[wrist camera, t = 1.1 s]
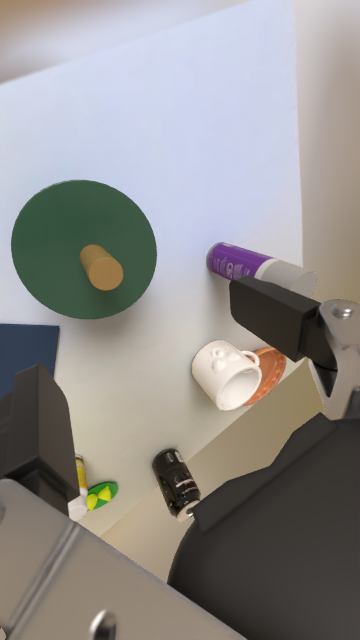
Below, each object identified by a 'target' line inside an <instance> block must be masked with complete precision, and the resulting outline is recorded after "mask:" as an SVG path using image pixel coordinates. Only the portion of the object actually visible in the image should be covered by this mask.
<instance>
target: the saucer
mask: <svg viewBox="0 0 360 640" xmlns="http://www.w3.org/2000/svg"><path fill="white" fill-rule="evenodd" d="M253 353H254V354H256V355H257V356H258V358H259V366H258V367H259V368H260V369H261V372H262V378H261V382H260V385H259V387H258V388H257V390H256V392H255V393H254V394H253V396H252V397H251V398H250V399H249V400H248V401H247V402H245V403H244V404H243V406H246V405H251V404H253V403H256V402H258V401H259V400H260V399H262V398H264V397H265V396H266V395H267V394H268V393H269V392H270V391H271V390H272V389H273V388H274V387H275V386H276V384H277V383H278V382H279V380H280V378H281V377H282V375H283V372H284V370H285V366H286V356H285V355H283V354H282V353H280V352H279V351H278V350H276V349H275V348H273V347H265V348H262V349H258V350H256V351H254V352H253ZM246 357H247V358H249V359H250V360H251V361H252V362H253V363H255V360H254V358H253V357H251V356H249V355H247V356H246Z"/></svg>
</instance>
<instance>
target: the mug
mask: <svg viewBox="0 0 360 640" xmlns="http://www.w3.org/2000/svg"><path fill="white" fill-rule="evenodd" d="M245 355H249V356H251V357H253V358H254V360H255V363H253V362H252V361H251V360H250V359H249V358H247V357H246V356H245ZM258 366H259V358H258V356H257V355H256V354H254V353H253V352H250V351H239V350H238V349H236V348H235V347H234V346H233V345H231V344H230V343H229V342H227V341H224V340H217V341H213V342H210V343H208V344H207V345H205V346H204V347H203V348H202V349H201V350H200V351H199V352H198V353H197V354H196V356H195V358H194V360H193V363H192V375H193V377H194V378H195V380H196V381H197V382H198V384H199V385H200V386H201V387H202V389H203V390H204V391H205V392H206V394H207V395H208V396H209V397H210V398H211V400H212V401H213V402H214V403H215V405H216V406H217V407H218V408H219V409H220V410H223V411H230V410H234V409H236V408H238V407H240V406H241V405H243V404H244V403H245V402H247V401H248V400H249V399H250V398H251V397H252V396H253V394H254V393H255V392H256V390H257V388H258V387H259V385H260V382H261V378H262V372H261V369H260V368H259V367H258Z"/></svg>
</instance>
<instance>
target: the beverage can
mask: <svg viewBox="0 0 360 640" xmlns="http://www.w3.org/2000/svg"><path fill="white" fill-rule="evenodd" d="M152 469H153V471H154V474H155V477H156V479H157V482H158V484H159V486H160V489H161V491H162V494H163V496H164V499H165V501H166V504H167V506H168V509H169V511H170V513H171V515H172V516H174V517H176V518H177V521H178V522H183V521H185V520H188V519H189V518H191V517H192V516H193V514H192V512H191V509H190V508H192V507H193V506H194V505H196V504H197V503H198V502H200V495H201V493H200V491H199V489H198V487H197V485H196V483H195V481H194V480H193V478H192V476H191V474H190V472H189V470H188V468H187V466H186V464H185V462H184V461H183V459H182V457H181V455H180V453H179V451H178V450H176V449H167V450H164V451H162V452H161V453H160V454H158V455H157V457H156V458H155V460H154V462H153V465H152Z"/></svg>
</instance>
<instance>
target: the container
mask: <svg viewBox="0 0 360 640" xmlns="http://www.w3.org/2000/svg"><path fill="white" fill-rule="evenodd" d="M207 266H208V268H209V269H210V270H211V271H212V272H214V273H216V274H218V275H220V276H222V277H224V278H226V279H228V280H230V281H232V280H234V279H237V278H239V277H241V276H243V275H250V276H252V277H254V278H257V279H259V280H261V281H266V282H272V283H274V284H277V285H279V286H282V288H286V289H289V290H290V291H293V292H296V293H298V294H301V295H303V296H305V297H308V298H310V299H311V297H312V295H313V294H314V291H315V289H316V286H317V276H316V274H315V273H314V272H313V271H310V270H307V269H305V268H302V267H299V266H296V265H293V264H290V263H287V262H284V261H282V260H279V259H276V258H273V257H269V256H266V255H263V254H260V253H257V252H253V251H250V250H247V249H244V248H240V247H237V246H234V245H231V244H227V243H224V242H220V243H217V244H215V245H214V246H213V247H212V248H211V249H210V250H209V252H208V255H207Z"/></svg>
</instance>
